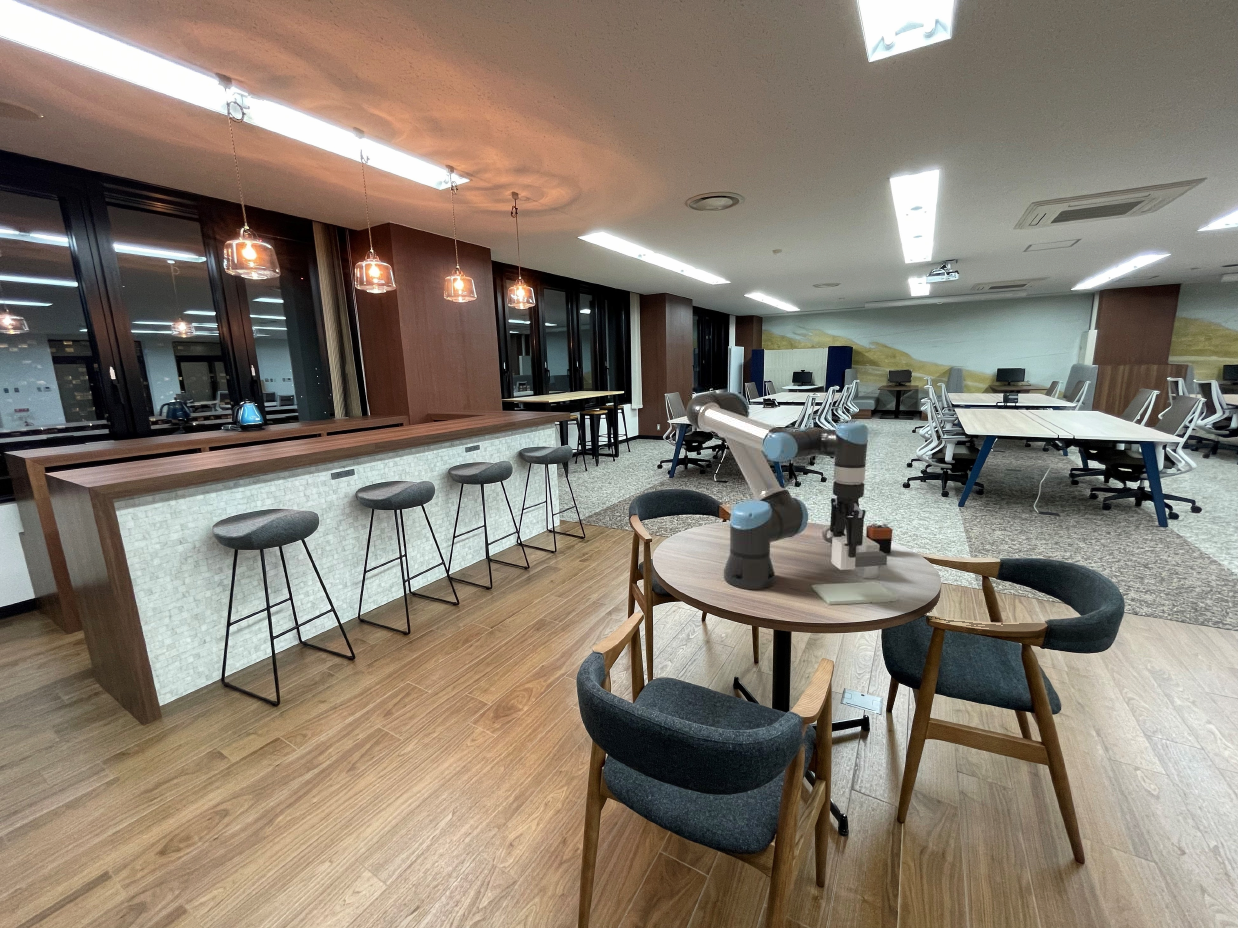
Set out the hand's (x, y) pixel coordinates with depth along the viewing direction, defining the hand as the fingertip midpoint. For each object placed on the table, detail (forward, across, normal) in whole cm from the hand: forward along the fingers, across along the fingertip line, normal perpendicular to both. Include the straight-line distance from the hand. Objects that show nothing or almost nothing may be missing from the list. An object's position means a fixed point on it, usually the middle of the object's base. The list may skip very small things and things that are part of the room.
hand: (843, 563), depth 130 cm
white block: (+1, 0, -5) cm, 5 cm away
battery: (+10, +29, -28) cm, 42 cm away
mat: (+10, 0, -3) cm, 10 cm away
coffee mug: (+10, +35, -18) cm, 41 cm away
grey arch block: (+9, +17, -14) cm, 24 cm away
